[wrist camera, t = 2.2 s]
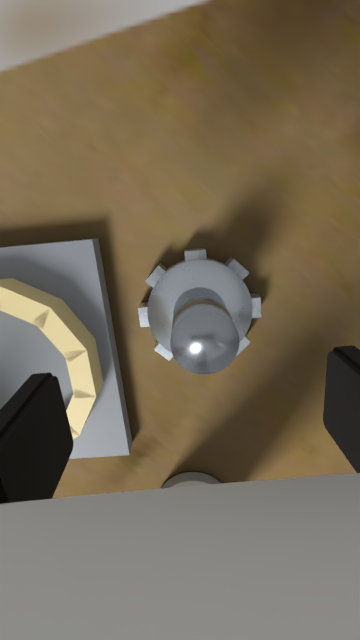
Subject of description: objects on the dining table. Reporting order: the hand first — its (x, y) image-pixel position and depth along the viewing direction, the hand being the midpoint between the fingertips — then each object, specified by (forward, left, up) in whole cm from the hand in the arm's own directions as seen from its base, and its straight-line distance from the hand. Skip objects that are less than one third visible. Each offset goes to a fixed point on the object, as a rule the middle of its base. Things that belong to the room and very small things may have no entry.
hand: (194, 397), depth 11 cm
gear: (-1, 0, -13) cm, 13 cm away
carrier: (+15, +3, -13) cm, 20 cm away
